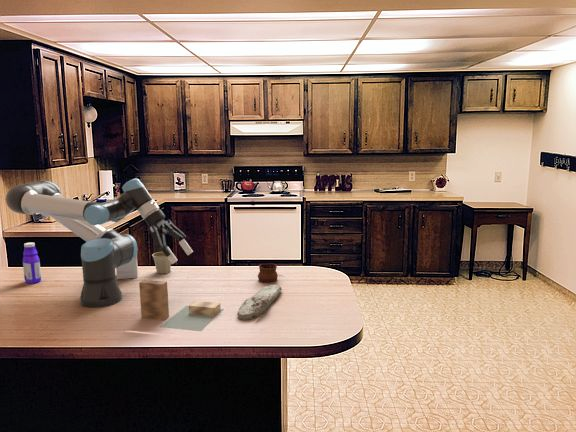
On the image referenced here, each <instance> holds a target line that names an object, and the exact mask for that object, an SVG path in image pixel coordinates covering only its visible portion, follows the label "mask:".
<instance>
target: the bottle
mask: <svg viewBox="0 0 576 432" xmlns="http://www.w3.org/2000/svg"><path fill="white" fill-rule="evenodd" d="M35 245H36V244H35V242H26V243H25V242H24V244H23V246H24V248H23V249H24V250H23V253H22V255H23V258H22V266H23V267H22V269H23V278H24V281H25V283H28V284H37V283H40V282H41V281H42V274H41V273H42V272H41V262H40V257H39V256H38V253H39V252H38V251H37V248H36V246H35Z"/></svg>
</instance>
